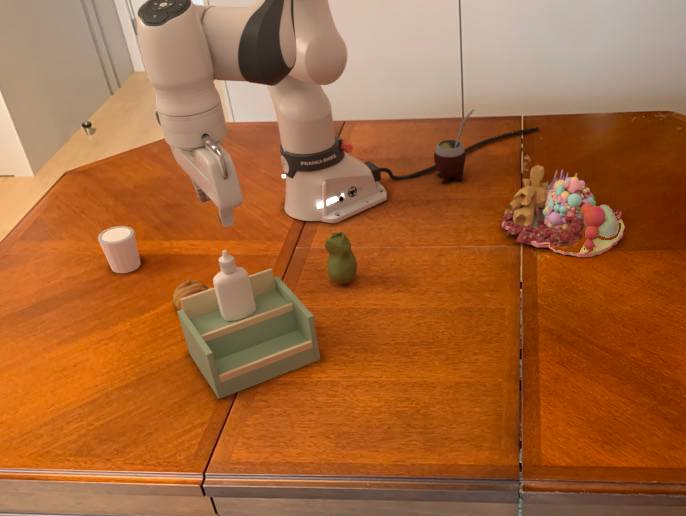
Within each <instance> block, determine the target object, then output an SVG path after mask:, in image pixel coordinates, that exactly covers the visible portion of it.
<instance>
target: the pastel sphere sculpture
mask: <svg viewBox="0 0 686 516" xmlns="http://www.w3.org/2000/svg"><path fill="white" fill-rule="evenodd" d="M544 176H545V167H544V166H542V165H539V164H536V165H534V166H532V167H531V169H530V173H529V178H522V182H523V186H524V187H522V188H520V189H518V191H517V192H516V193H515V194H514V196H513V199H512V200H511V202H510V203H508V205H507V207H506V208H505V210H504V212H503V213H504V215H503V216H502V219H503V221H502V222H501V228H502V229H504V230H507V231H506V234H505V236H506V237H507V236H512V235H517V234H518V236H517V238H516V240H515V243H518V244H523V245H526V246H530V245H531V246H533V247H535V248H549V250H551V251H553V252H554V253H559V254H561V255H564V256H567V255H568V256H572V257H578V258H591V257H595V256H600V255H602V254H603V253H605V252H609V251H610V250H611V249H612V248H613V247H614V246H616V245H617V244H618V242H619V241H620V240H621V239H622V238H623V237H624V231H625V228H626V226H625V224H624V221H623V219H622V218H621V216H622V210H620V211H619V209H617V210H616V212H614V210H613V209H612V208H611V207H610V206H609V205H607V204H605V203H604V204H600V205H596V204H597V202H596V200H595V196H594V194H593V193H592V192H591V190H590V188H589V187H586V182H585V181H584V180H583V179H580V180H579V177H578V173H577V172H576V173H575V174H574V176H572V177H571V176H569V172H567V173H566V175H564V168H562V169H561V170H560V175H559V178H558V177H557V176H558V169H556V170H555V172H554V176H553V179H552V181H551V182H550V184H549V182H548V181H546V182H542V180H543V179H544ZM566 202H567V203H566ZM570 209H571V210H570ZM575 209H577V210H576V211H575ZM579 209H580V210H579ZM578 210H579V211H578ZM613 212H614V213H613ZM574 213H576V214H574ZM577 213H579V214H577ZM615 213H616V214H617V213H618V215H617V216H615V215H614V214H615ZM564 216H565V217H564ZM574 216H575V217H574ZM616 217H617V218H618V219H620V218H621V219H620V220H617V218H616ZM583 220H584V221H583ZM561 223H563V224H562V225H561ZM568 223H569V224H568ZM619 223H621V229H620V232H619V234H618V236H617V237H616V238H614V239H612V240H601V239H599V238H597V237H598V236H599V235H600V236H601V237H602V236H603V237H605V238H610V237H613V236H615V235H616V234H617V233H618V229H619ZM561 228H562V230H563V231H566V232H563V231H562V230H561ZM583 228H584V229H585V237H586V238H587V240H586V241H585V243H584V245H583V247H582V248H581V250H580V252H579V253H573V252H564V251H561V250H555V249H554V248H553V247H550V243H551V244H553V246H554V247H555V246H556V247H558V246H563V245H565V246H567V247H572V246H573V245H574V243H575V242H578V241H579V240H581V239H582V237H583V236H584V234H583V232H582V229H583ZM544 244H549V245H544ZM594 245H595V247H594ZM584 248H585V250H584ZM592 248H593V251H591V252H589V250H590V249H592ZM588 252H589V253H588ZM585 253H588V254H585Z"/></svg>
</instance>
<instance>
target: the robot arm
mask: <svg viewBox="0 0 686 516" xmlns="http://www.w3.org/2000/svg"><path fill="white" fill-rule="evenodd" d="M136 30H137V38H138V43H139V48H140V53H141V58H142V61H143V66H144V70H145V73H146V77H147V79H148V81H149V83H150V85H151V87H152V88H153V91H154V95H155V109H154V115H155V118H156V121H157V123H158V124H159V126H160V127H161V130H162V133H163V137H164V140H165V142H166V144H167V145H169V148H170V151H171V154H172V156H173V157H174V159H175V161H176V163H177V164H178V166H179V167H180V168H181V169H182V170H183V171H184V172H185V173H186V174H187V176H188V177H189V179H190V180H191V183H192V184H193V187H194V189H195V192H196V196H197V198H198V199H199V200H200V201H201V202H202V203H206V202H210V201H211V202H212V203H213V204H214V205H215V206H216V207H217V210H218V213H217V216H218V219H219V223H220V224H221V225H222V226H223V227H224V228H228V227H231V226H234V224H235V219H234V209H235V208H238V207H241V206H242V205H243V203H244V195H243V191H242V188H241V183H240V180H239V176H238V173H237V170H236V167H235V164H234V161H233V158H232V156H231V155H230V154H229V152H228V151H227V150H225V148H223V146H222V140H223V139H224V138H225V137H226V136H227V135H228V126H227V122H226V117H225V113H224V108H223V104H222V99H221V96H220V95H221V94H220V93H219V91H218V89H217V87H216V84H215V81H216V80H217V81H226V82H228V81H229V82H247V83H251V84H259V85H265V86H266V88H267V91H268V93H269V96H270V98H271V101H272V104H273V108H274V112H275V115H276V123H277V127H278V132H279V139H280V144H279V151H280V163H281V166H282V170H283V173H284V174H281V178H282V179H285V199H284V205H283V209H284V212H285V214H286V215H287V216H289V217H291V218H292V219H296V220H299V221H302V222H303V221H304V222H322V223H328V224H337V223H340V222H342V221H344V220H346V219H348V218H351V217H353V216H355V215H357V214H360V213H361V212H363V211H365V210H369V209H370V208H372V207H374V206H376V205H379V204H381V203H383V202H385V201H387V199H388V194H387V190H386V188H385V187H384V186H383V185H382V184H381V183H380V181H382V173H383V172H384V173H387V174H388V176H389V178H390V179H391V180H394V181H400V180H409V179H413V178H416V177H419V176H421V175H424V174H427V173H430V172H432V171H434V170H437V167H436V165H435V164H434V165H432V166H429V167H427V168H424V169H421V170H419V171H416V172H413V173H410V174H407V175H402V176H401V175H400V176H399V175H394V174H393V172H392V170H391V169H390V168H388V167H379V166H377V165H376V164H374V163H373V162H371V161H370V160H368V161H365V162H364V161H362V160H360V159H358V158H357V157H354V156H353V155H350V154H351V153H352V152H353V150H354V146H353V144H352V143H350V141H347V140H343V138H341V137H339V136H337V135H336V134H335V127H334V118H333V110H332V104H331V101H330V99H329V97H328V95H327V94H326V92H325V91H324V89H323V87H322V86H327V85H331V84H333V83H335V82H337V80H339V79H340V78H341V76H342V75H343V73H344V72H345V69H346V67H347V62H348V48H347V45H346V42H345V40H344V39H343V37H342V36H341V34H340V32H339V30H338V28H337V25H336V23H335V22H334V18H333V13H332V12H331V8H330V3H329V0H256V1H255V2H253V3H252V4H250V5H247V6H216V5H202V4H195V3H194V2H193V1H192V0H147V1H145V2H143V4H142V5H141V6H139V8H138V9H137V12H136ZM535 127H536V128H532V127H530V128H531V129H527V128H525V129H526V130H522V129H518V130H514V131H510V132H509V131H508V132H506V133H502V134H498V135H495V136H492V137H488V138H487V139H483V140H481V141H478V142H476V143H474V144H472V145H470V146H468V147H466V148H465V153H469V152H470V151H472V150H474V149H477V148H478V147H481V146H483V145H485V144H489V143H491V142H494V141H498V140H501V139H504V138H508V137H512V136H516V135H520V134H524V133H530V132H536V131H539V130H540V128H539V126H538V127H537V126H535ZM520 130H521V131H520ZM516 131H517V132H516ZM512 132H513V133H512ZM500 135H501V136H500ZM496 136H498V137H496ZM494 137H495V138H494Z"/></svg>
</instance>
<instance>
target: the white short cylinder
mask: <svg viewBox="0 0 686 516" xmlns="http://www.w3.org/2000/svg"><path fill="white" fill-rule="evenodd" d="M97 240H98V243H99V246H100V247H101V249H102V251H103V254H104V256H105V258H106V261H107V262H108V264H109V266H110V268H111V269H110V270H112V272H114V273H117V274H127V273H132V272H133V271H136V270H137V269H138V268H140V266H141V264H142V263H141V259H140V254H139V249H138V243H137V239H136V234H135V230H134V228H132V227H130V226H127V225H116V226H113V227H109V228H107V229H104V230H103V231H101V232H100V233H98V235H97Z"/></svg>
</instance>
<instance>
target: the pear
mask: <svg viewBox="0 0 686 516" xmlns="http://www.w3.org/2000/svg"><path fill="white" fill-rule="evenodd" d="M324 248H325V250H326V251H327V252H328V257H327V261H326V263H327V264H326V270H327V276H328V278H329V279H330V281H332V282H334V283H335V284H338V285H346V284H349V283H351V282H352V281H353V280H354V279H355V277H356V275H357V271H358V264H357V263H358V262H357V258H356V255H355V254H354V252H353V250H352V244H351V242H350V239H349V237H347V235H346V233H344V232H343V231H340V232H332V233H331V235H330V236H329V238H327V239H326V240H325V243H324Z"/></svg>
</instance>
